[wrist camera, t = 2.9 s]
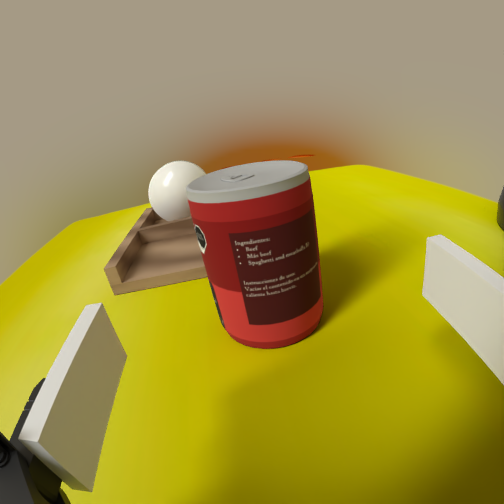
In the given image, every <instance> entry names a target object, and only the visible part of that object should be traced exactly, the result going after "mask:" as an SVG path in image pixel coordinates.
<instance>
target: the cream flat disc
mask: <svg viewBox="0 0 504 504" xmlns="http://www.w3.org/2000/svg"><path fill="white" fill-rule="evenodd" d="M204 175H206V173H205V172H204V171H203V170H202V169H201V168H200V167H199V166H197V165H195V164H194V163H191V162H188V161H173V162H170V163H168V164H166V165H164V166H163V167H161V168H160V169H159V170H158V171H157V172H156V173H155V174H154V176H153V177H152V180H151V182H150V185H149V192H148V193H149V200H150V203H151V206H152V208H153V209H154V211H155V212H156V213H157V214H158V215H159V216H160V217H161V218H163V219H165V220H166V221H173V220H177V219H181V218H186V217H190V216H191V213H190V208H189V204H188V200H187V192H186V187H187V185H188V184H189V183H191V182H192V181H194V180H195V179H197V178H199V177H201V176H204Z"/></svg>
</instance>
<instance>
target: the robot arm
mask: <svg viewBox="0 0 504 504" xmlns="http://www.w3.org/2000/svg"><path fill="white" fill-rule="evenodd" d="M497 222H498V224H499V225H500V227H501V228H502V229H503V230H504V187H503V190H502V193H501V196H500V198H499V202H498V212H497ZM422 295H423V296H424V297H425V298H426V299H427V300H428V301H429V302H430V303H431V304H432V305H433V306H434V307H435V308H436V310H437V311H438V312H439V313H440V314H441V315H442V316H443V317H444V318H445V319H446V320H447V321H448V322H449V323H450V324H451V325H452V326H453V328H454V329H455V330H456V331H457V332H458V333H459V334H460V335H461V336H462V337H463V338H464V340H465V341H466V342H467V343H468V344H469V345H470V346H471V347H472V348H473V350H474V351H475V352H476V353H477V354H478V355H479V356H480V358H481V359H482V360H483V361H484V362H485V363H486V365H487V366H488V367H489V368H490V369H491V370H492V372H493V373H494V374H495V375H496V376H497V378H498V379H499V380H500V381H501V382H502V384H503V385H504V278H503V277H502V276H500V275H499V274H498V273H496V272H495V271H494V270H492V269H491V268H490V267H488V266H487V265H485V264H484V263H483V262H481V261H480V260H478V259H477V258H475V257H474V256H473V255H471V254H470V253H468V252H467V251H465V250H464V249H462V248H461V247H459V246H458V245H456V244H455V243H453V242H452V241H450V240H449V239H447V238H446V237H444V236H443V235H436V236H432V237H428V238H427V246H426V261H425V272H424V283H423V292H422ZM126 358H127V355H126V353H125V351H124V349H123V347H122V345H121V343H120V341H119V338H118V336H117V334H116V332H115V330H114V328H113V326H112V324H111V322H110V319H109V317H108V315H107V313H106V310H105V308H104V306H103V304H102V303H97V304H91V305H86V306H85V308H84V310H83V312H82V313H81V315H80V317H79V318H78V320H77V322H76V323H75V325H74V327H73V329H72V330H71V332H70V334H69V336H68V338H67V339H66V341H65V343H64V345H63V347H62V348H61V350H60V352H59V354H58V356H57V358H56V360H55V361H54V363H53V365H52V367H51V369H50V371H49V373H48V375H47V377H46V378H43V379H42V380H41V381H40V382H39V383H38V384H37V385H36V387H35V388H34V389H33V391H32V393H31V395H30V397H29V399H28V400H29V402H27V403H26V405H25V407H24V409H25V410H24V411H23V412H22V414H21V416H20V418H19V420H18V423H17V425H16V427H15V429H14V432H13V434H12V436H11V438H10V441H8V439H7V438H6V437H5V436H4V435H3V434H2V433H1V432H0V504H71V503H70V501H69V499H68V497H67V495H66V494H65V492H64V491H63V490H62V489H61V488H60V486H61V482H62V481H63V482H64V483H66V484H67V485H68V486H69V487H70V488H72V489H74V490H81V491H88V492H92V491H93V486H94V481H95V476H96V471H97V467H98V462H99V458H100V454H101V449H102V445H103V441H104V437H105V433H106V429H107V425H108V421H109V417H110V414H111V410H112V406H113V402H114V399H115V395H116V392H117V388H118V385H119V381H120V378H121V375H122V371H123V368H124V365H125V361H126Z"/></svg>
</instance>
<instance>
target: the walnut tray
mask: <svg viewBox="0 0 504 504" xmlns="http://www.w3.org/2000/svg"><path fill="white" fill-rule="evenodd" d="M104 271H105V273H106V276H107V278H108V281H109V283H110V286H111V288H112V290H113V293H114V295H118V294H123V293H128V292H133V291H138V290H144V289H149V288H154V287H159V286H164V285H169V284H174V283H179V282H184V281H189V280H194V279H199V278H204V277H208V276H207V272H206V269H205V265H204V262H203V258H202V254H201V251H200V247H199V243H198V240H197V236H196V232H195V229H194V225H193V221H192V217H191V216H190V217H186V218H181V219H177V220H173V221H166V220H165V219H163V218H161V217H160V216H159V215H158V214H157V213H156V212H155V211H154V209H153V208H148V209H146V210H145V211H144V212H143V214H142V215H141V217H140V218H139V219H138V221H137V222H136V223H135V225H134V226H133V227H132V229H131V230H130V232H129V233H128V234H127V236H126V237H125V239H124V240H123V242H122V243H121V244H120V246H119V247H118V249H117V250H116V252H115V253H114V255H113V256H112V257H111V259H110V260H109V262H108V263H107V265H106V266H105V268H104Z"/></svg>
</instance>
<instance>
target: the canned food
mask: <svg viewBox="0 0 504 504" xmlns="http://www.w3.org/2000/svg"><path fill="white" fill-rule="evenodd" d="M186 192H187V200H188V204H189V208H190V213H191V217H192V221H193V225H194V229H195V232H196V236H197V240H198V243H199V247H200V251H201V254H202V258H203V262H204V265H205V269H206V272H207V276H208V279H209V283H210V286H211V290H212V293H213V297H214V300H215V304H216V307H217V310H218V314H219V317H220V320H221V323H222V325H223V327H224V328H225V330H226V331H227V332H228V334H229V335H230V336H231V337H232V338H233V339H234V340H236V341H237V342H239V343H241V344H243V345H246V346H250V347H253V348H262V349H268V348H279V347H284V346H288V345H291V344H294V343H296V342H298V341H300V340H302V339H304V338H305V337H307V336H308V335H309V334H311V333H312V332H313V331H314V330H315V328H316V327H317V325H318V324H319V322H320V318H321V315H322V311H323V295H322V282H321V270H320V259H319V248H318V238H317V228H316V219H315V210H314V202H313V194H312V189H311V181H310V175H309V172H308V167H307V165H305V164H303V163H300V162H296V161H266V162H258V163H250V164H244V165H239V166H234V167H230V168H226V169H222V170H218V171H215V172H212V173H209V174H206V175H204V176H201V177H199V178H197V179H195V180H194V181H192V182H191V183H189V184H188V185H187V187H186Z"/></svg>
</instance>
